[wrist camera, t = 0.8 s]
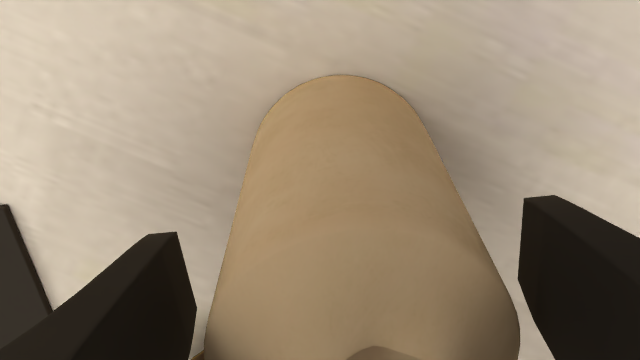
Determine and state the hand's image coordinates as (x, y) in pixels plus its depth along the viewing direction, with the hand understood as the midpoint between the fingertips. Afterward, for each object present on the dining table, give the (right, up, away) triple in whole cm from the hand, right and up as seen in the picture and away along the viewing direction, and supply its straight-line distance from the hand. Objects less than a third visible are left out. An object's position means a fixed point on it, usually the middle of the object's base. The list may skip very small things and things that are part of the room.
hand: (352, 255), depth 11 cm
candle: (0, +2, +6) cm, 6 cm away
